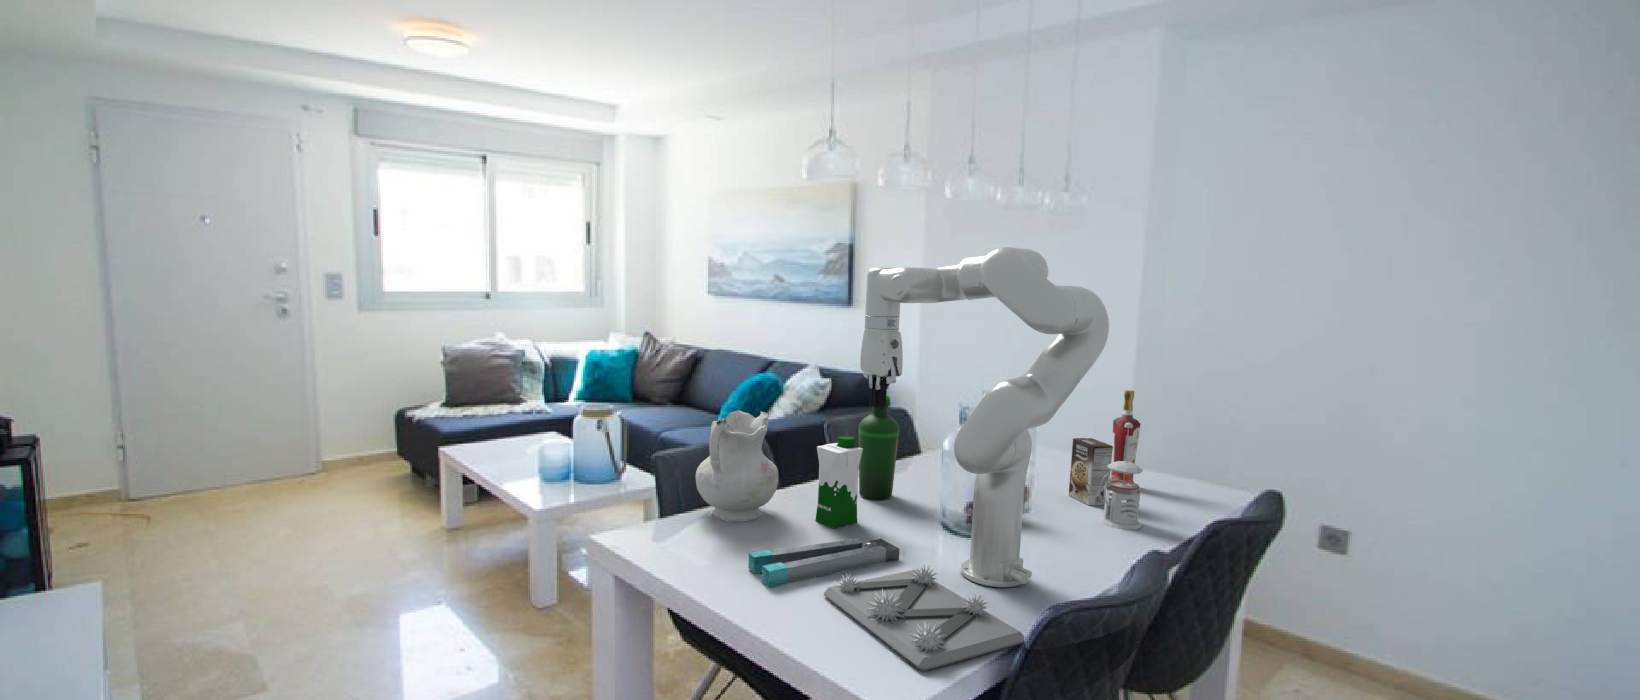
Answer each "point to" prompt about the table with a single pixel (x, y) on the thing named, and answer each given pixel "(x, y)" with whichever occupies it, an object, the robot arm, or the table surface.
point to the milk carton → (838, 482)
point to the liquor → (1125, 437)
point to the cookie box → (1089, 470)
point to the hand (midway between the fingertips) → (877, 406)
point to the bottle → (878, 453)
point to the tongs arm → (802, 553)
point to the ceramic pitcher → (737, 468)
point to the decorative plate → (923, 618)
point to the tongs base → (828, 564)
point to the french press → (1122, 496)
